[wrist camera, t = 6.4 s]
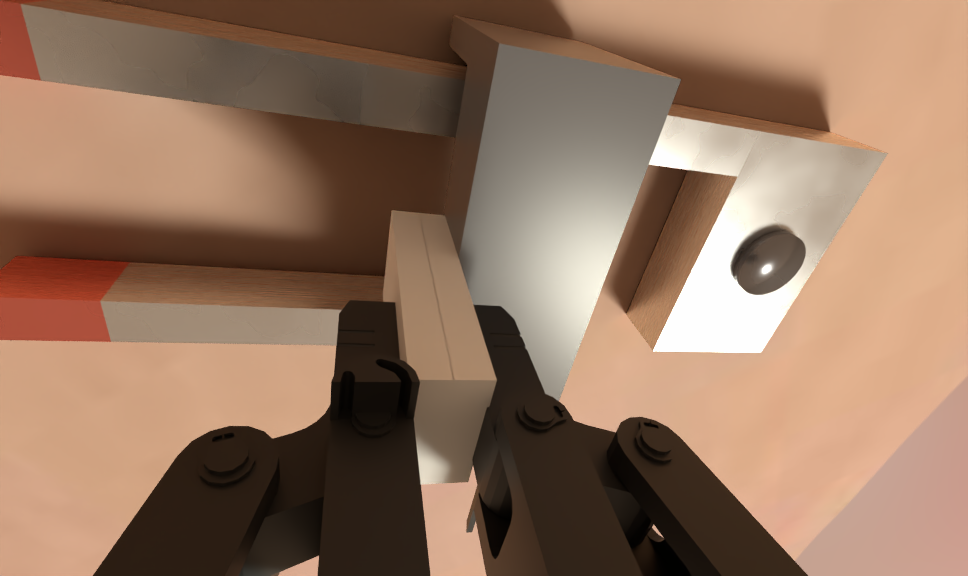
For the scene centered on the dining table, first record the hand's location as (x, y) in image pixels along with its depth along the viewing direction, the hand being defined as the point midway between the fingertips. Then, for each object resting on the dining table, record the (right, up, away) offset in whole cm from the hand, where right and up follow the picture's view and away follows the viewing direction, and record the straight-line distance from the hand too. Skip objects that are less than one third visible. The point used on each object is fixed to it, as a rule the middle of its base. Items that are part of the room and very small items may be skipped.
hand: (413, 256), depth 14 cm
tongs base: (+1, +2, +3) cm, 4 cm away
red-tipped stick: (-4, -1, +4) cm, 6 cm away
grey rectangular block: (+2, +2, +3) cm, 4 cm away
